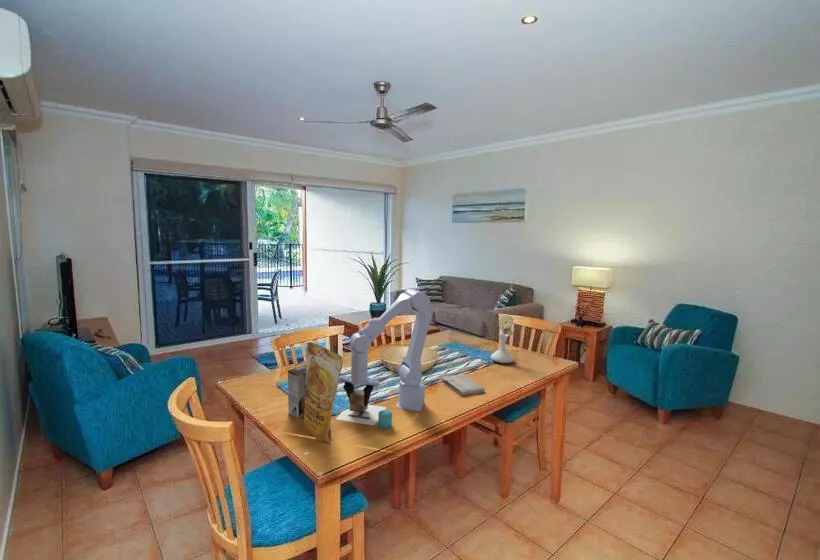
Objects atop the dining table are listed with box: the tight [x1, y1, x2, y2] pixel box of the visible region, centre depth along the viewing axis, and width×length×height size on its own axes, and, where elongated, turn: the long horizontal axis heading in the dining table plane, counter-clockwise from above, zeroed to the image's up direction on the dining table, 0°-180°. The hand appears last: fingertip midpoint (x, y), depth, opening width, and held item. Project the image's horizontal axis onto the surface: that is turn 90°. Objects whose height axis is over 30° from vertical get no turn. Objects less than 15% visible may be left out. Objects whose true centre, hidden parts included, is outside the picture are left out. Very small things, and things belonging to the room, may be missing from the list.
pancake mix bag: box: [303, 341, 344, 443], centre depth 131 cm, size 7×19×28 cm, turn 40°
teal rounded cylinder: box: [377, 409, 393, 430], centre depth 137 cm, size 4×4×5 cm
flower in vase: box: [490, 314, 514, 364], centre depth 205 cm, size 13×11×25 cm
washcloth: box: [440, 373, 485, 397], centre depth 174 cm, size 12×18×3 cm, turn 26°
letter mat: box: [335, 403, 387, 426], centre depth 145 cm, size 14×14×1 cm
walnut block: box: [349, 388, 369, 413], centre depth 146 cm, size 5×5×6 cm
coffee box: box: [287, 364, 306, 419], centre depth 144 cm, size 9×6×16 cm
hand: (358, 403), depth 146 cm, fingers closed on walnut block, 5 cm apart
